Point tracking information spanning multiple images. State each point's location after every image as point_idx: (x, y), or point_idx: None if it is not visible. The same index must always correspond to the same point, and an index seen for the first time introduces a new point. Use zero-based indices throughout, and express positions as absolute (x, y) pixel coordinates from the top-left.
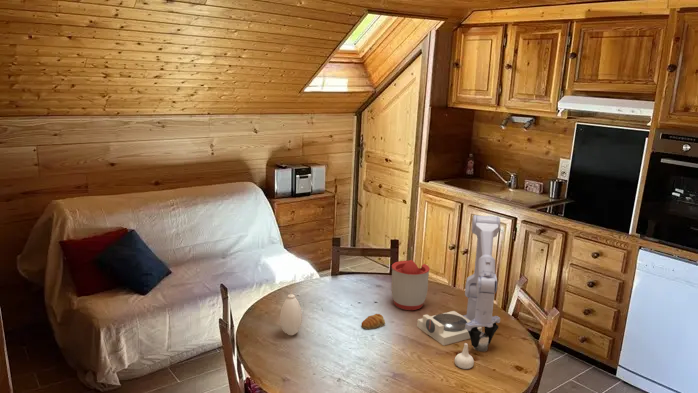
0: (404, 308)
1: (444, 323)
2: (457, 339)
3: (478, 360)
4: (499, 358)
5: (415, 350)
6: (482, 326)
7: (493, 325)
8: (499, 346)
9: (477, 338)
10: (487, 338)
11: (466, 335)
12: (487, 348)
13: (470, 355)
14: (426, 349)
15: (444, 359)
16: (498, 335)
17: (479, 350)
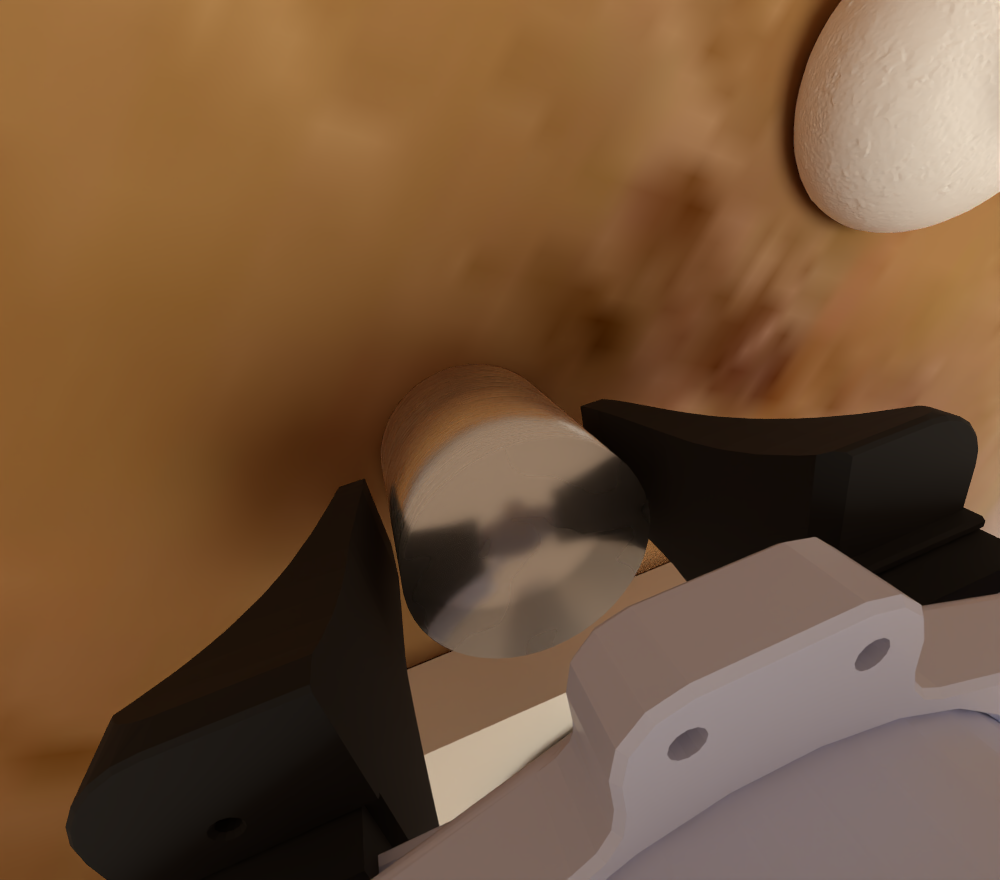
0: None
1: None
2: (655, 592)
3: (664, 153)
4: (324, 111)
5: (993, 458)
6: (954, 608)
7: (281, 812)
8: (166, 468)
9: (712, 428)
10: (481, 454)
11: (550, 654)
12: (410, 400)
13: (947, 63)
14: None
15: (940, 278)
16: (69, 726)
17: (529, 382)
